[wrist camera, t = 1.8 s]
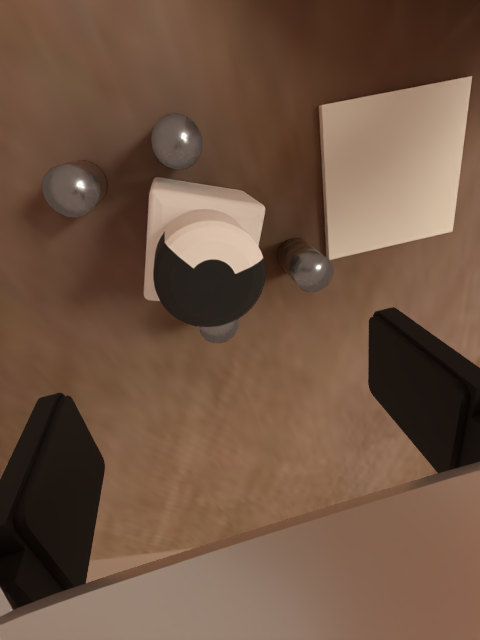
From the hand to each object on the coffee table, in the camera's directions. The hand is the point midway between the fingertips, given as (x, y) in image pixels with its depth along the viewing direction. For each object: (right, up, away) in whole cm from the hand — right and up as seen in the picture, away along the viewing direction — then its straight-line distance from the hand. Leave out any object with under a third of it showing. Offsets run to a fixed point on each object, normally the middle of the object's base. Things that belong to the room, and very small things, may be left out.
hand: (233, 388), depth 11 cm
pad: (+13, +14, +19) cm, 27 cm away
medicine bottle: (-3, +10, +18) cm, 21 cm away
